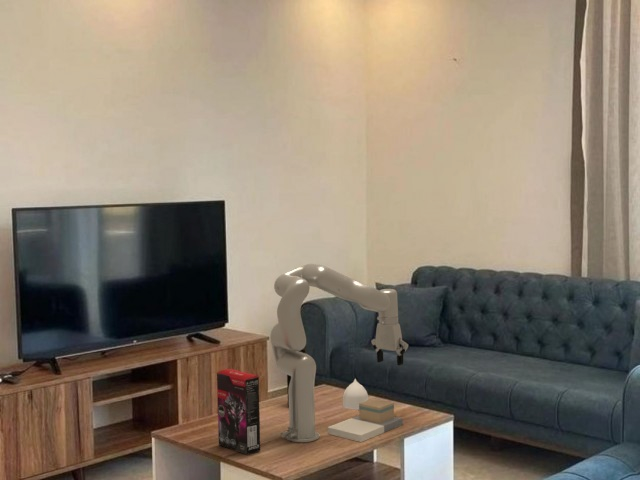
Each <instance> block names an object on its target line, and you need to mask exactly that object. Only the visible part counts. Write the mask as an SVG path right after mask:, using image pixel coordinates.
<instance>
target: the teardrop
mask: <svg viewBox="0 0 640 480" xmlns="http://www.w3.org/2000/svg"><path fill="white" fill-rule="evenodd" d="M367 400H369V395H368V391H367V390H366V388H365V387H364V386H363V385H362V384H360V382H359V381H358V380H357V379H356V378H354V380H353V382H351V383H350V384H349V385H348V386H347V387H346V388H345V390H344V392H343V396H342V408H343V409H346V410H351V411H352V410H353V411H355V410H356V411H357V410H358V411H359V403H362V402H365V401H367Z"/></svg>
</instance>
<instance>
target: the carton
mask: <svg viewBox="0 0 640 480" xmlns="http://www.w3.org/2000/svg"><path fill="white" fill-rule="evenodd" d="M358 415H359V419H363V420H367V421H371V422H376V423H383V422H385V421H388V420H390V419H393V418H394V417H395V403H394V402H392V401H387V400H383V399H378V398H371V399H368V400H367V401H365V402H362V403H359V410H358Z"/></svg>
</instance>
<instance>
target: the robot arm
mask: <svg viewBox="0 0 640 480" xmlns="http://www.w3.org/2000/svg"><path fill="white" fill-rule="evenodd" d="M310 287H313V288H316V289H319V290H321V291H324V292H326V293H328V294H330V295H332V296H335V297H337V298H338V299H341V300H344V301H347V302H353V303H355V304H356V303H357V304H358V305H359V306H360V308H362V309H364V310H368V311H372V312H376V313H378V316H377V317H376V320H377V321H378V323H377V325H376V329H375V330H376V331H375V332H376V333H375V338H373V339H371V340H370V342H371V344H372V347H373V349H374V350H375V353H376V361H377V363H381V362H384V351H383V350H385V351H393V352H396V354H397V356H396V365H397V366H402V365H404V355H405V353H406V352H407V351H408V348H409V344H408V343H407V342H406V341H404V340H403V336H402V330H401V325H400V323H399V309H398V292H397V290H396V289H393V288H384V289H380V290H379V289H377V288H374V287H373V286H371V285H368V284H365V283H363V282H360V281H358V280H356V279H354V278H351V277H348V276H346V275H344V274H343V273H340V272H338V271H336V270H334V269H332V268H330V267H327V266H325V265H322V264H321V265H320V264H316V263H315V264H314V263H307V264H304V265H301V266H299V267H297V268H295V269H293V270H290V271H288V272H285V273H283V274H280V275H279V276H278V277H277V278H276V279H275V281H274V286H273V290H274V292H275V293H276V294H277V295H278V296H279V297H280V300H279V302H278V305H277V307H276V315H277V323H276V324H275V325H274V326H273V327H272V328H271V331H270V337H269V338H270V343H271V345H270V346H271V348H272V353H273V356H274V361H275V363H276V366H277V368H278V370H279V371H280V372H281V373H283V374H285V375H286V376H287V375H289V376H291V381H290V384H289V391H287V395H288V394H289V408H288V417H289V419H288V420H289V422H288V423H289V425H288V426H287V430H286V431H283V432H281V433H280V437H281V438H282V439H284V438H285V439H286V440H287V441H288V442H293V443H309V442H314V441H317V440H318V439H319V438H320V433H319V432H318V431H317V430H316V412H315V411H316V408H315V406H316V405H315V379H316V371H317V364H316V361H315V359H314V358H313V357H312V356H311V355H310V354H308V353H307V354H305V353H302V352H299V351H300V350H302V349H303V348H304V347H305V346H307V336H306V332H305V328H304V324H303V320H302V316H301V310H302V309H301V308H302V305H303V303H304V301H305V300H306V298H307V297H308V296H309V294H310Z"/></svg>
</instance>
